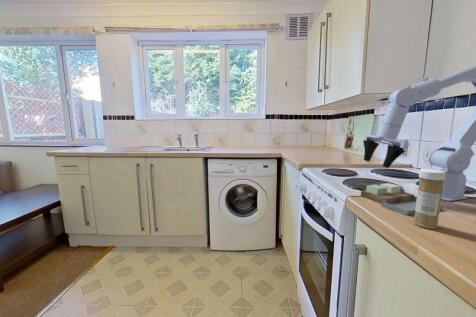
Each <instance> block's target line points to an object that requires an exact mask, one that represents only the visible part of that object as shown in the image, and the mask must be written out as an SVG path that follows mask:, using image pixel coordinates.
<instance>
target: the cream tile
mask: <svg viewBox="0 0 476 317" xmlns="http://www.w3.org/2000/svg"><path fill="white" fill-rule="evenodd" d="M379 186H383V187H386V188H387V192H389V193H397V192H400V191H401V187H402V186H401V185H398V184H393V183H390V182H389V183H388V182H387V183H380V184H379Z"/></svg>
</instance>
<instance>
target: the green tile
mask: <svg viewBox="0 0 476 317" xmlns="http://www.w3.org/2000/svg"><path fill="white" fill-rule="evenodd" d="M365 190H366V191H367V192H370V193H373V194H376V195H381V194H387V188H386V187H383V186H380V184H370V185H366V189H365Z"/></svg>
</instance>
